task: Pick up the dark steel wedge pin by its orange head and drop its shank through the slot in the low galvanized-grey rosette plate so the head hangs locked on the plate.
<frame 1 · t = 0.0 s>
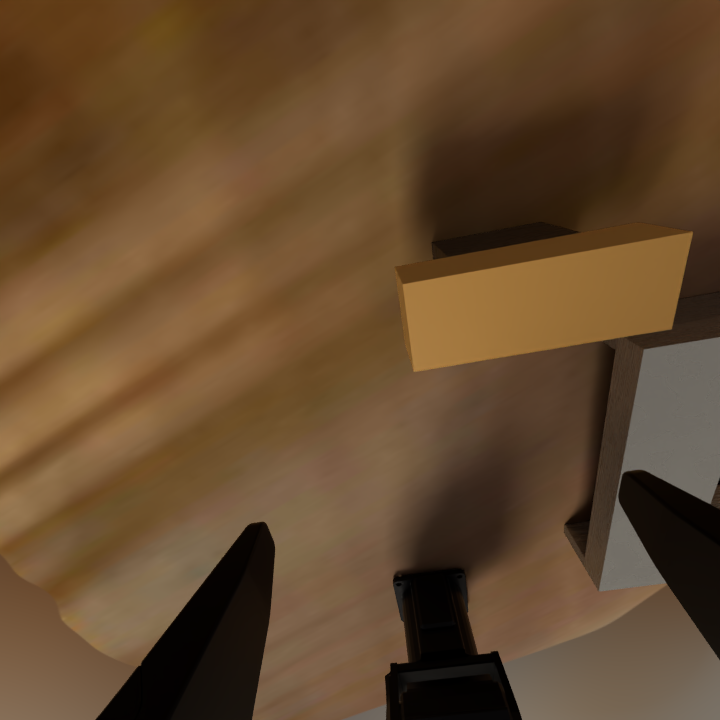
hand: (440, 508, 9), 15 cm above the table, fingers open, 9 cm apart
rosette plate: (715, 420, 27), on the table
wedge pin: (486, 267, 21), on the table
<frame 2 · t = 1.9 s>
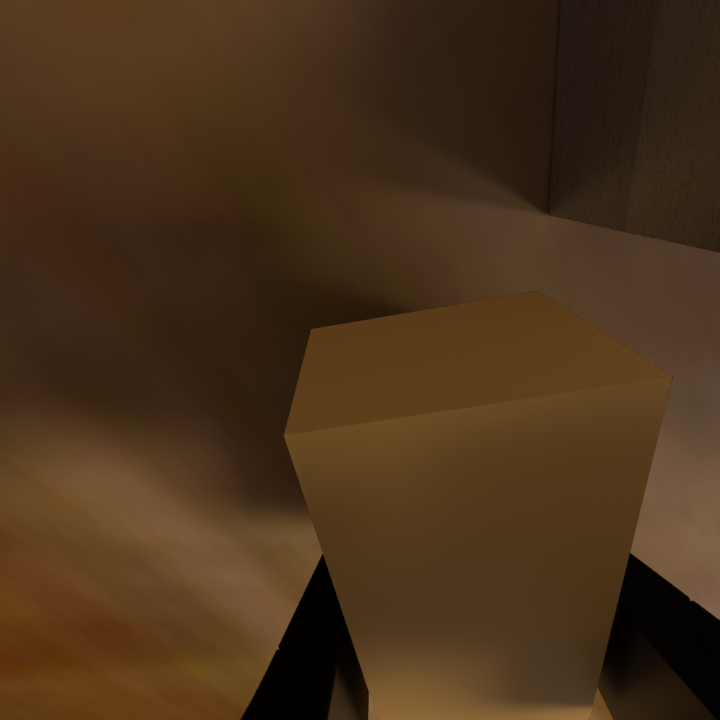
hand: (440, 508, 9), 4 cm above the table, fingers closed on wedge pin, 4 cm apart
wedge pin: (417, 423, 13), on the table, touching gripper
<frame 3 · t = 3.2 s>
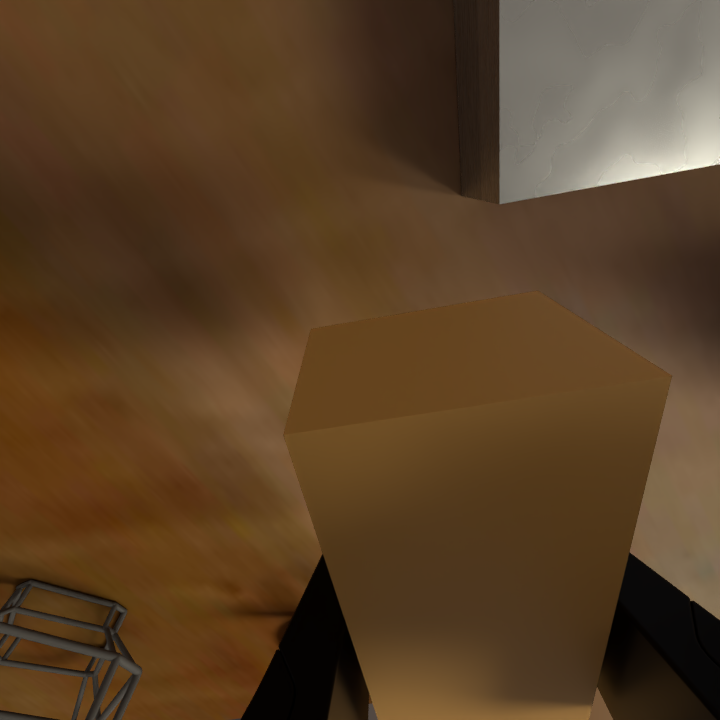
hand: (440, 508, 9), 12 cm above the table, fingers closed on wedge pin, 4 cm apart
wedge pin: (417, 423, 13), point 9 cm above the table, touching gripper
geometric lantern: (83, 615, 32), on the table
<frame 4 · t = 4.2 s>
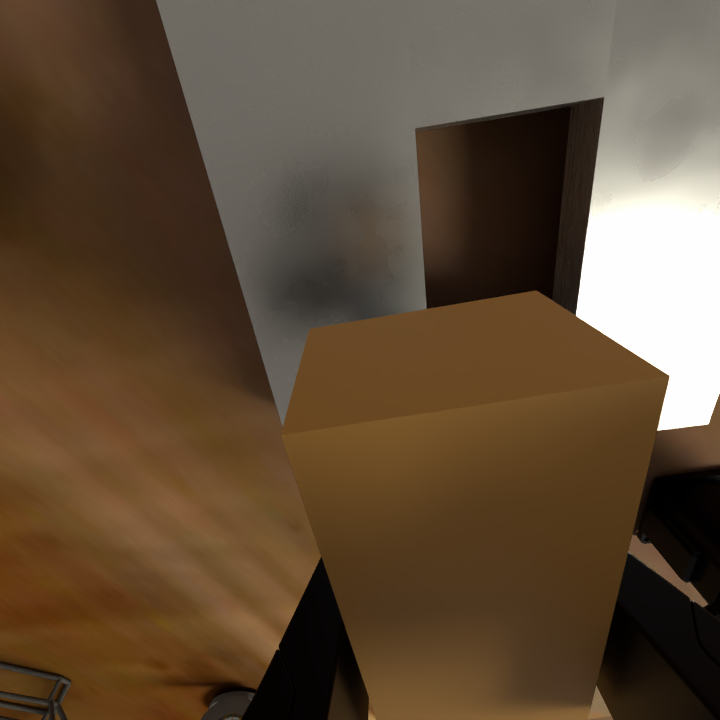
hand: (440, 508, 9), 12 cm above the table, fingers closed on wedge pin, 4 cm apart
rosette plate: (466, 224, 18), on the table
wedge pin: (416, 423, 13), point 9 cm above the table, touching gripper
pocket watch: (243, 693, 39), on the table
geometric lantern: (33, 684, 37), on the table
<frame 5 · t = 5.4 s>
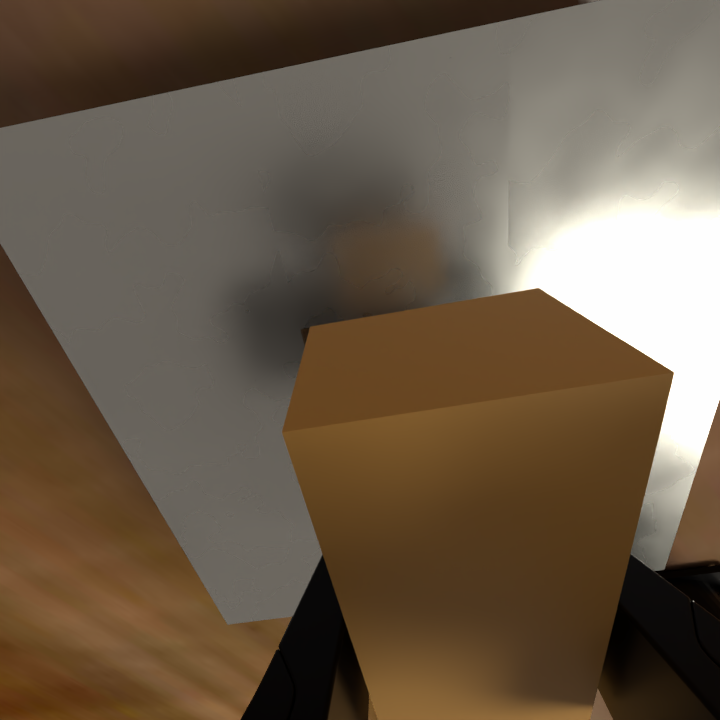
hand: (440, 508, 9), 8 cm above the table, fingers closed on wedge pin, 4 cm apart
rosette plate: (399, 356, 17), on the table
wedge pin: (417, 422, 12), point 5 cm above the table, touching gripper
when the fingers open (5 cm above the table, at t = 6.3 s): wedge pin stays where it is, resting on rosette plate.
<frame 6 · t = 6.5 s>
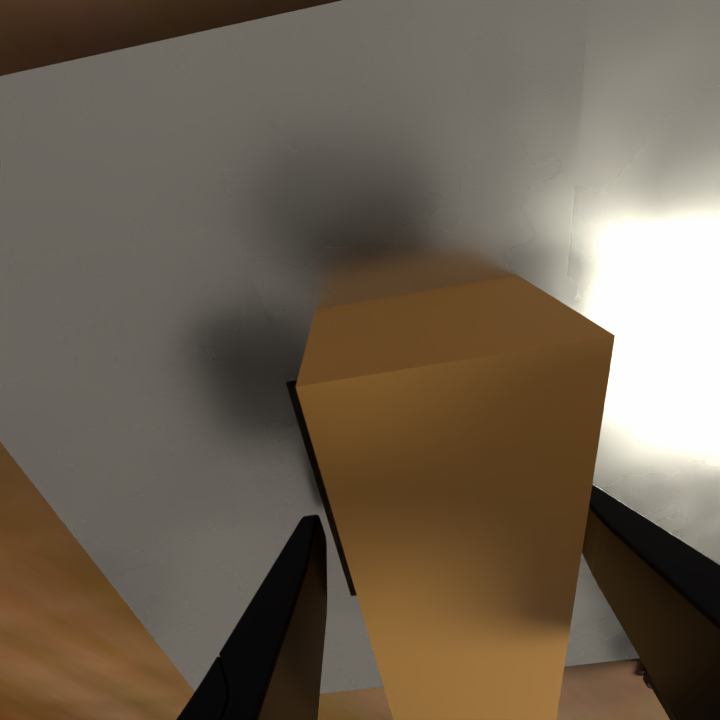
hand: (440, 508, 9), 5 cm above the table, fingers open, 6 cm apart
rosette plate: (409, 392, 14), on the table
wedge pin: (413, 406, 13), point 1 cm above the table, touching rosette plate
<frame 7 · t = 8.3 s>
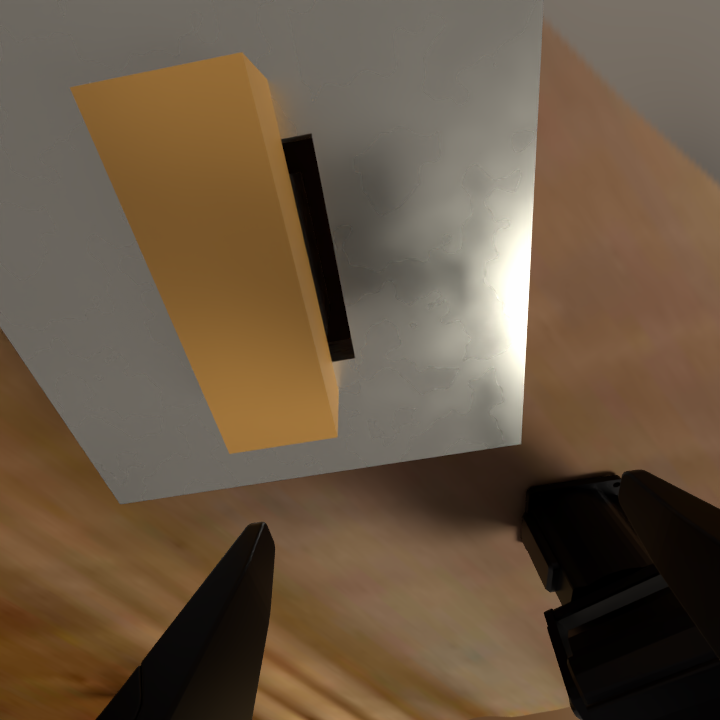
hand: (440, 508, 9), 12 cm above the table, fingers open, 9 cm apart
rosette plate: (277, 248, 18), on the table
wedge pin: (274, 252, 17), point 1 cm above the table, touching rosette plate
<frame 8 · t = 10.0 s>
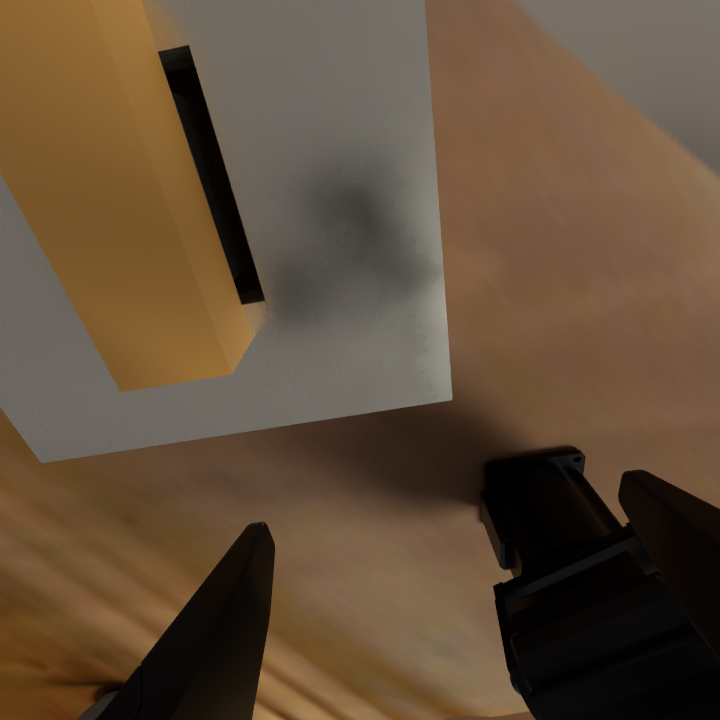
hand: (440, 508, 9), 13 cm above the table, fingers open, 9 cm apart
rosette plate: (201, 198, 17), on the table
wedge pin: (193, 198, 17), point 1 cm above the table, touching rosette plate
pocket watch: (134, 693, 39), on the table
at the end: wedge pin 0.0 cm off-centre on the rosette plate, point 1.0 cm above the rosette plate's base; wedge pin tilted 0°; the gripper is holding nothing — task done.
